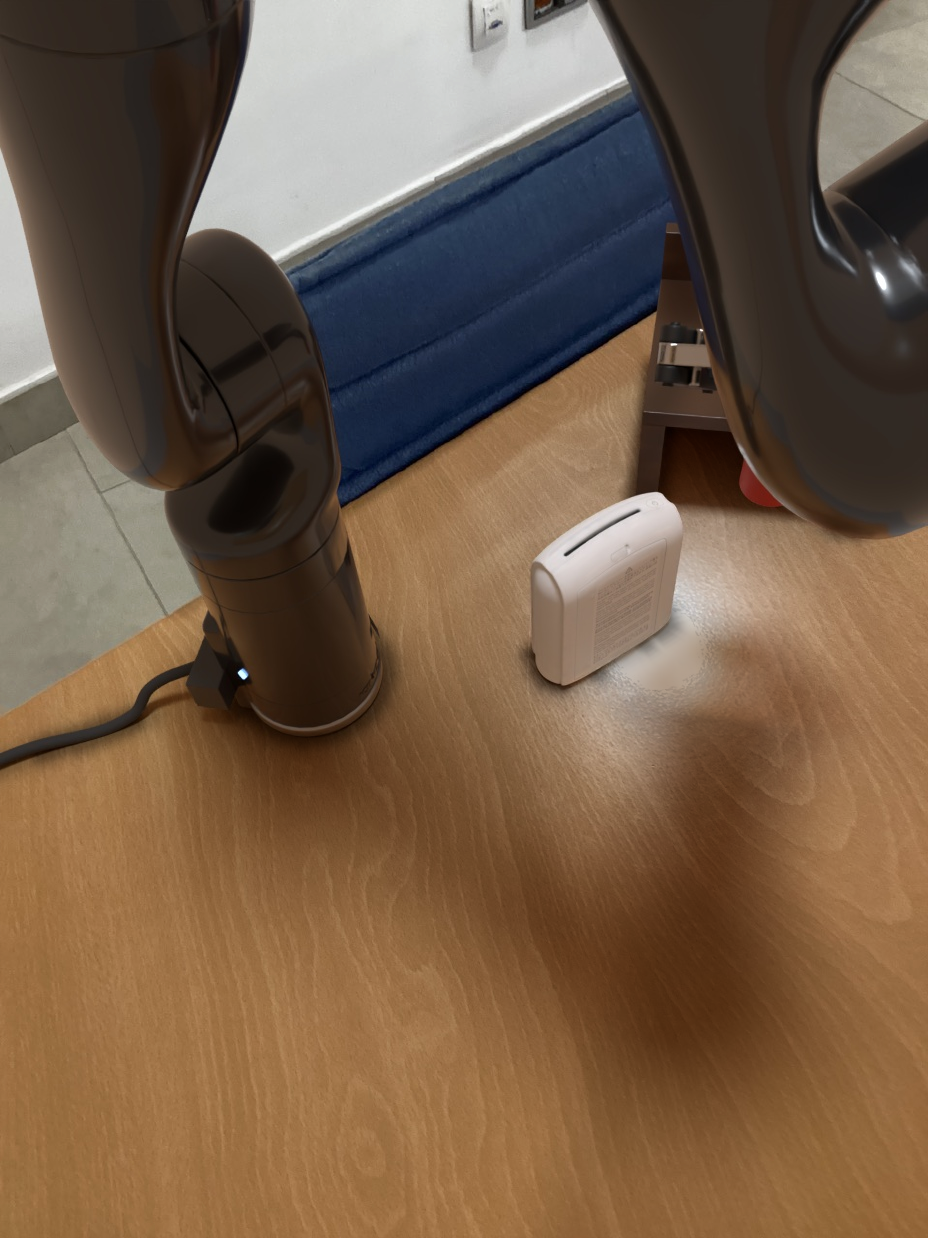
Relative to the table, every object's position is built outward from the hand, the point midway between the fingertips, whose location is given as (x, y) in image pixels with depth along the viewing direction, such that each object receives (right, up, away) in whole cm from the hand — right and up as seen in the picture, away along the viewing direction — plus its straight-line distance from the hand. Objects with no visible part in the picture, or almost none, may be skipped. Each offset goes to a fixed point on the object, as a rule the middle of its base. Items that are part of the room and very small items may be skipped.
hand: (790, 376), depth 54 cm
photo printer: (-7, -14, +19) cm, 25 cm away
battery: (0, -5, +4) cm, 6 cm away
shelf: (+5, +1, +28) cm, 29 cm away
